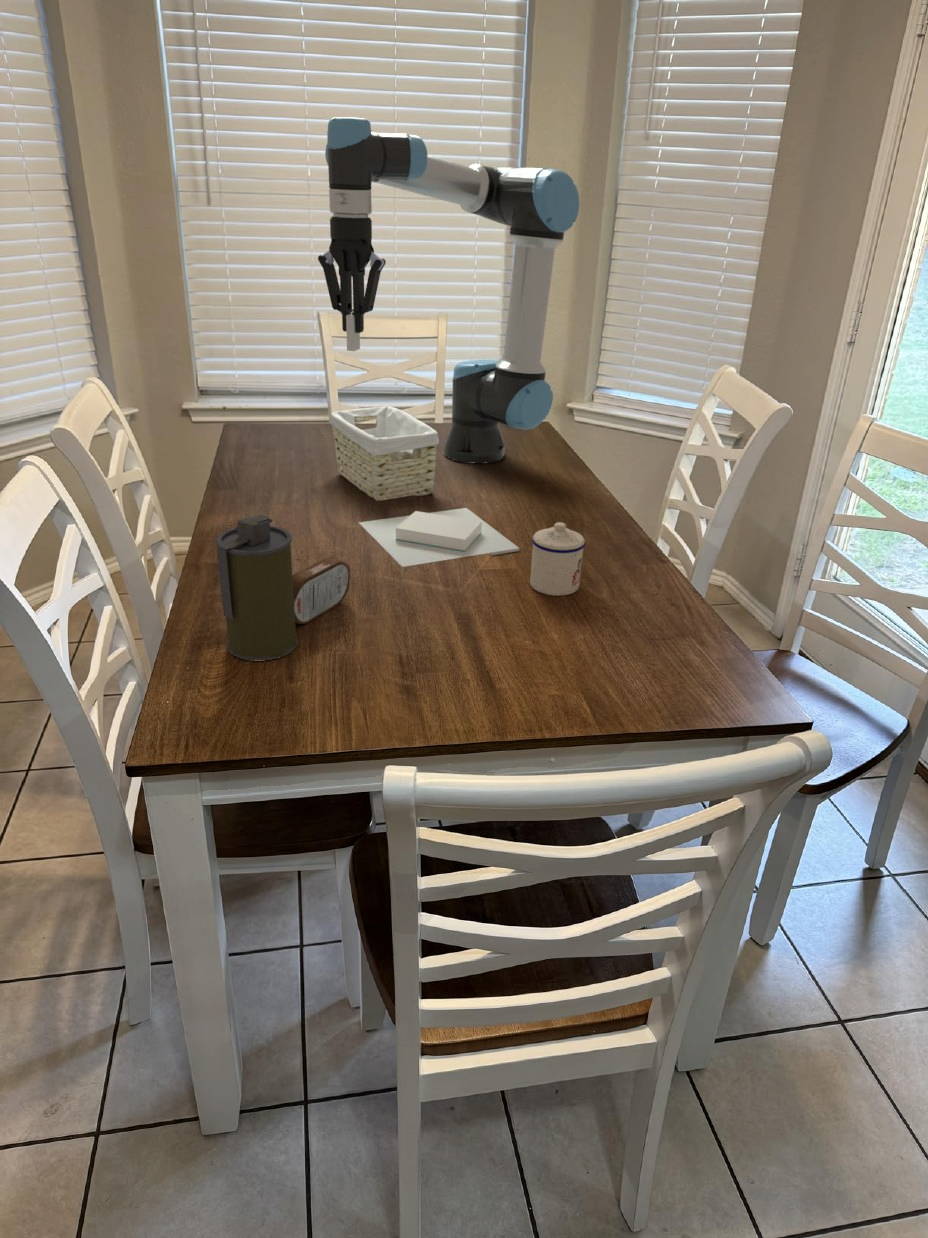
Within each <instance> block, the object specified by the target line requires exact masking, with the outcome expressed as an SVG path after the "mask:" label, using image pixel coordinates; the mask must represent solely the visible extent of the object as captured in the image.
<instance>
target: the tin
mask: <svg viewBox="0 0 928 1238" xmlns="http://www.w3.org/2000/svg"><path fill="white" fill-rule="evenodd" d="M292 577H293V594H294V612H295V624H298V625H305V624H308V623H310V622H312V621H314V620H315V619H317V618H319V617H320V616H323V615H324V614H326V613H327V612H329V611H331V610H332V609H334V608H335V607H337V606H339V604H341V602H342V601H343V600H344V598H345V597H346V596H347V594H348V592H349V588H350V580H351V569H350V565H348V564H347V563H346V562H345V561H343V560H340V559H338V558H336V557H334V556H326V557H324V558H322V559H320V560H318V561H316V562H314V563H312V564H310V565H308V566H307V567H304V568H302V569H300V570H299V571H296V572H294V573H292Z"/></svg>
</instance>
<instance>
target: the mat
mask: <svg viewBox="0 0 928 1238" xmlns="http://www.w3.org/2000/svg"><path fill="white" fill-rule="evenodd" d="M430 513H431V514H437V515H444V516H450V517H456V518H462V519H468V520H475V521H481V522H482V529H481V534H480V536H479V537H478V538H477V539H476V540H475V541H474V542H473V543H472V544H471V546H470V547H469V548H468V549H467V550H466V551H465V552H462V551H456V550H450V549H444V548H438V547H433V546H427V545H421V544H415V543H409V542H404V541H398V540H396V527H398V526H399V525H400V524H401V523H402V522H403V521H404V520H406V519H407V518H408V517H409V516H410V515H405V516H397V517H390V518H381V519H374V520H367V521H362V522H361V521H359V522H358V524H359V525H360V526H361V527H362V528H363V529H364V530H365V531H366V532H367V533H368V534H369V535H370V536H371V537H372V538H373V539H374V540H375V541H376V542H377V543H378V544H379V545H380V546H381V547H382V549H384V550H385V552H386V553H388V555H390V556H391V557H392V558H393V560H395V561H396V563H398V564H399V566H401V567H402V568H406V567H411V566H418V565H425V564H431V563H435V562H436V563H437V562H443V561H449V560H455V559H460V558H467V557H473V556H479V555H480V556H481V555H484V554H486V555H487V554H488V555H487V556H489V557H490V556H496V555H501V554H508V553H514V552H520V547H518V546H517V545H516V544H515V543H513V542H512V541H510V540H509V539H508V538H507V537H505V536H504V535H503V534H502V533H500V532H499V531H497V530H496V529H495V528H493V527H492V526H491V525H489V524H488V523H487V522H486V521H484V520H483V519H481V517H479V516H478V515H476V514H475V513H474V512H473V511H471V510H470V509H468V508H467V507H463V508H456V509H448V510H442V511H440V510H439V511H431V512H430Z"/></svg>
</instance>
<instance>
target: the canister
mask: <svg viewBox="0 0 928 1238" xmlns="http://www.w3.org/2000/svg"><path fill="white" fill-rule="evenodd" d="M272 522H273V519H272V518H269V517H267V516H264V515H262V514H259V515H255V516H252V517H251V516H250V517H248V518H247V517H245V518H241V519H239V520H237V526H236V527H232V528H229V529H227V530H225V531H223V532H222V533H221V534H219V535H218V537H217V538H216V542H215V543H216V550H217V551H216V552H217V561H218V572H219V581H220V591H221V593H220V594H221V601H222V612H223V617H225V622H226V623H225V624H226V633H227V643H226V647H227V648H226V649H227V651H228V653H229V652H230V653H229V654H230V655H232V654H233V655H234V656H236V657H239V658H242V659H244V660H243V661H245V660H254V661H255V660H257V661H258V660H270V659H276V658H278V657H282V658H284V657H286V656H285V655H286V654H289V653H290V654H291V653H293V652H294V651H295V650H296V649H297V647H298V644H299V639H298V636H297V634H296V633H297V631H296V623H295V612H294V594H293V577H292V575H293V565H292V563H293V562H292V547H291V545H292V541H293V536H292V534H291V533H290V532H289V531H288V530H286V529H285V528H282V527H279V526H274V525H271V524H270V523H272ZM296 646H297V647H296ZM295 648H296V649H295ZM293 650H294V651H293ZM290 654H289V655H290ZM233 655H232V656H233ZM234 656H233V657H234ZM283 656H284V657H283ZM236 657H235V658H236ZM239 658H238V659H239ZM242 659H241V660H242ZM276 660H277V659H276Z"/></svg>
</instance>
